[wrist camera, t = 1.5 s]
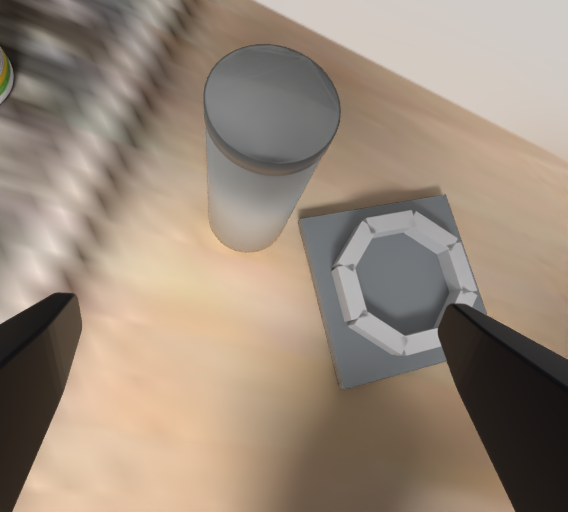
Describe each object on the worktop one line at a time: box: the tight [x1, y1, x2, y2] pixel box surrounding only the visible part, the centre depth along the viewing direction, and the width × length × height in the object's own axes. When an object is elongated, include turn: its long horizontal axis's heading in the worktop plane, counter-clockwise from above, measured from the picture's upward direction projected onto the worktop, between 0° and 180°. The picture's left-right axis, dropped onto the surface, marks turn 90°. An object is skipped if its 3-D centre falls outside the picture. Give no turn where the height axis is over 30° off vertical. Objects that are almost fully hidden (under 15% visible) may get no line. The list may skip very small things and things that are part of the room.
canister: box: [204, 44, 341, 252], centre depth 19 cm, size 5×5×11 cm
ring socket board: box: [298, 194, 487, 389], centre depth 23 cm, size 10×10×2 cm
